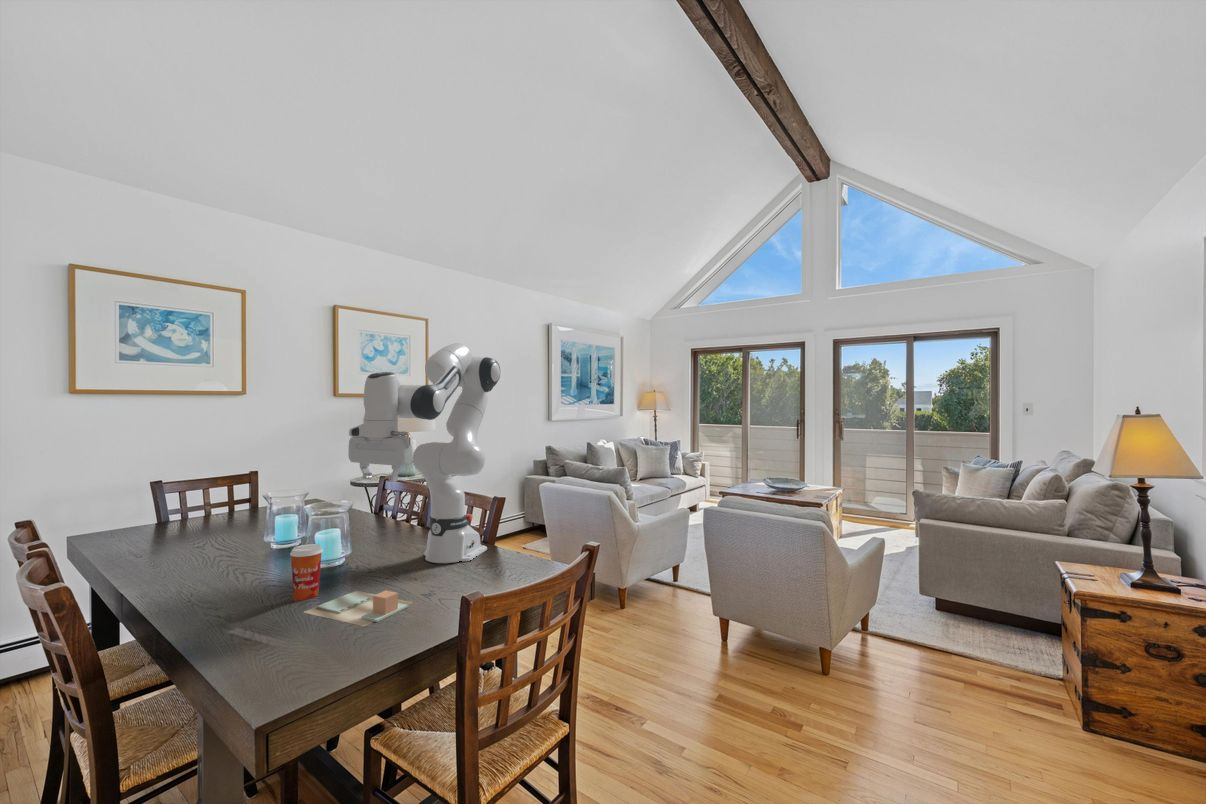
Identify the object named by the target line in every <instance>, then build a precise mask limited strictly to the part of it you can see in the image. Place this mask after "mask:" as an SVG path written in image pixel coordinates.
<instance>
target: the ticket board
mask: <svg viewBox="0 0 1206 804" xmlns="http://www.w3.org/2000/svg"><path fill="white" fill-rule="evenodd" d="M374 595H376V594H374V593H370V592H369V593H368V592H364V591H359V590H355V591H351V592H349V593H347V594H343V595H342V596H339V597H336V598H334V599H331V600H329V601H327V602H323V603H321V604H319V605H317V606H314V607H312V608H310V609H307V610H305V611H303V613H304V614H309V615H313V616H317V617H320V618H321V617H322V618H324V619H325V618H326V619H329V620H333V621H338V622H342V623H345V624H349V625H354V626H359V627H367V626H368V625H371V624H373V623H375V622H374V621H370V620H366V619H361V616H363V615H365V614H368V613H370V612H372V611H373V596H374ZM398 603H401V604H406V605H408V606H410V605H411V604H413V603H414V602H413V601H409V600H403V599H399V598H398Z"/></svg>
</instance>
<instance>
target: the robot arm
mask: <svg viewBox="0 0 1206 804" xmlns="http://www.w3.org/2000/svg"><path fill="white" fill-rule="evenodd" d="M424 369H425V370H424V372H425V376H426V378H427V379H428V381H430V382H431V383H432V384H421V385H419V384H418V385H417V384H416V385H414V384H413V385H412V384H411V385H409V384H408V385H407V384H404V383H403V382H401V381H400V380H398V378H397V375H396V373H394V372H389V371H382V372H373V373H371V374H368V375H367V377H366V378H365V379H366V380H365V384H364V389H363V390H364V391H363V406H364V416H363V418H362V419H363V423H362V424H360V425H359V424H358V425H357V426H355V427H354V426H353V427H352V428H350V429H349V430H348V436H349V437H350V439H349V441H348V459H349V461H350V462H351V463H354V464H355V463H356V464H359V468H360V471H361V473H362V479H363V480H372V478H373V476H372V472H370V470H369V467H370V465H383V466H391V470H392V472H391V474H389V475H388V481H389V482H390V483H396V482H398V479H399V474H400V472H401V470H402V467H405V466H407V467H408V466H411V464H413V466H414V468H415V469H416V470H417V471H418V472H419V473H420V474H421V475H422V477H423V479H424V480H425V482H426V485H427V487H428V489H429V495H430V516H429V520H428V524H429V528H430V529H429V531H428V534H427V542H426V548H425V549H426V550H425V551H424V553H423V555H424V557H425V558H424V559H425V561H426V562H429V563H435V564H450V563H451V564H452V563H458V562H459V561H462V562H469V561H470V560H471V561H472V560H474V559H475V558H477V557H478V556H480V555H482V554H483V553H484V552H486V551H487V550H488V547H487V546H486V545H484V544H481V536H480V533H479V532H478V531H476V530H475V529H474V528H473V527H471V526H470V525H469V522H468V521H472V520H473V514H471V513H470V514H469V513H467V514H465V512H466V507H465V506H466V494H465V491H464V490H463V489H462V488H461V487H460V486H458V485H457V484H456V482H455V481H454V479H453V477H456V476H457V477H469V476H475V475H478V474H480V472H481V471H482V470H483V468H484V466H485V464H486V463H485V461H486V456H485V453H484V451H483V449H482V448H481V447H480V446H479V444H478V440H477V436H478V432H479V429H480V427H481V423H482V421H483V419H484V415H485V413H486V410H487V409H486V408H487V404H488V399H489V397H488V393H489V392H491V391H492V390H493V388H494V387H495V386H496V385H497V384H498V382H499V381H500V377H501V366H500V364H499V363H498V361H497V360H496V359H495V358H491V357H488V356H487V357H486V356H485V357H482V356H481V357H480V356H472V352H471V350H470V349H469V348H468V347H467V345H464V344H463V343H458V342H456V343H451V344H449V345H446V346H444V347H442V348H441V349H439V350H438V351H436V352H435V353H433V354H432V355H431V356H429V358H428V359H427V360H426V362H425V365H424ZM458 387H460V388H461V387H462V388H461V389H462V390H461V392H460V394H459V396H458V398H457V399H456V400H455V403H454V404H453V407H452V410H451V412H450V414H449V416H448V418H447V421H446V423H445V424H446V425H445V427H446V431H447V432H448V434H449V435H450V436H452V437H453V438H452V440H451V441H450V442H439V441H432V442H426V443H422V444H419V445H418V446H417V447H415V449H414V451H413V447H412V443H411V436H410V434H408V433H407V432H406V431H399V425H398V423H399V419H400V418H401V419H421V420H429V421H433V420H435V419H436V418H438V417H439V416H440V415H441V413H442V412H443V410H444V409H445V406H446V403H447V402H448V400H449V399H450V398H451V397H452V395H453V394H454V393H455V392H456V390H457V388H458ZM476 556H477V557H476ZM473 558H474V559H473ZM459 563H460V562H459Z"/></svg>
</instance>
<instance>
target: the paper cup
mask: <svg viewBox="0 0 1206 804" xmlns="http://www.w3.org/2000/svg"><path fill="white" fill-rule="evenodd" d="M323 552H324V549H323V547H322V546H321V545H320V544H318V543H315V544H314V543H308V544H301V545H298V546H294V547H293V548H292V549H291V552H290V553H289V555H290V559H291V560H290V561H291V575H292V576H291V577H292V579H291V580H292V594H293V602H297V601H301V600H309V599H313V598H316V597H317V596H318V595H319V591H320V589H319V588H320V580H321V568H322V567H321V565H322V553H323Z"/></svg>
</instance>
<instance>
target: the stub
mask: <svg viewBox="0 0 1206 804" xmlns="http://www.w3.org/2000/svg"><path fill="white" fill-rule="evenodd" d="M398 599H399V592H396V591H390V590H387V589H385V590H383V591H381V592H379V593H376V594H375V595H374V596H373V611H372V612H370V613H368V614H365V615H363V616H361V619H366V620H370V621H374V622H373V623H379V622H380V621H382V620H385V619H386V618H389V617H390V616H392V615H395V614H398V613H399V612H401V611H403V610H405V609H407V608H409V605H406V604H401V603H398Z"/></svg>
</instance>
